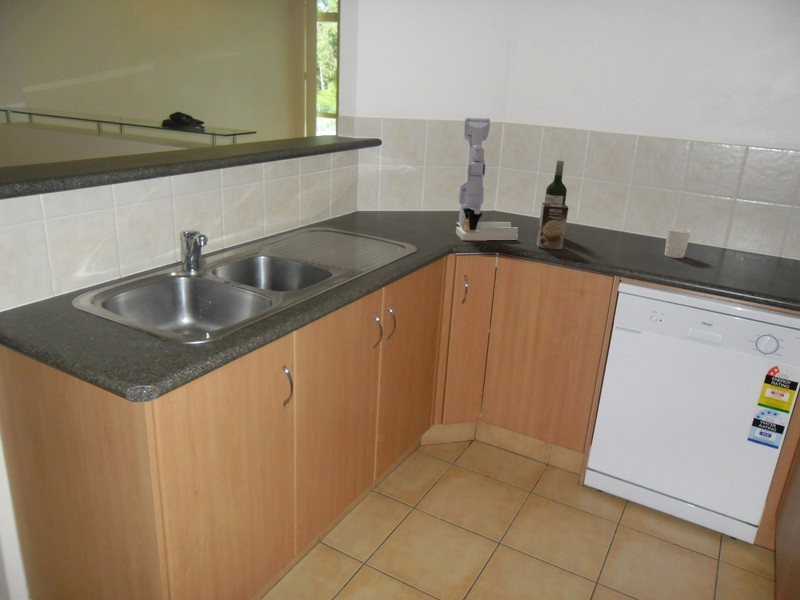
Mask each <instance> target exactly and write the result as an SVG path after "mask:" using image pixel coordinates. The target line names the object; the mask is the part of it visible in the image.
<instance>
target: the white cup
mask: <svg viewBox="0 0 800 600" xmlns="http://www.w3.org/2000/svg"><path fill="white" fill-rule="evenodd" d="M691 232H692V231H691V230H690V229H688V228H683V227H675V226H673V227H672V226H671V227H668V228H667V233H666V239H665V250H664V255H665V256H666V257H668V258H672V259H673V258H674V259H683V258H684V257H685V253H686V250H687V247H688V243H689V240H690V236H691V234H692V233H691Z"/></svg>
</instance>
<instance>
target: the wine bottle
mask: <svg viewBox="0 0 800 600" xmlns="http://www.w3.org/2000/svg"><path fill="white" fill-rule="evenodd" d="M564 164H565V162H564V160H559V159H558V160H557V161H556V167H555V172H554V179H553V181H552V182H551V183H550V184H549V185H547V187H546V189H545V198H544V203H552V204H563V205H566V199H567V192H568V191H567V187H566V186H565V184H564V183H563V173H564V166H565V165H564Z"/></svg>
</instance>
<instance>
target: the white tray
mask: <svg viewBox="0 0 800 600" xmlns="http://www.w3.org/2000/svg"><path fill="white" fill-rule="evenodd" d="M455 229H456V230H455V234H456V235H457V237H459V238H460V240H461V241H487V240H517V241H518V237H519V233H518V232H519V227H518V226H517V227H515V226H513V227H512V222H511V221H478V224H477V228H476V232H465V231H464V230H463V229H462V227H460V226H456V227H455Z"/></svg>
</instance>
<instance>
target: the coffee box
mask: <svg viewBox="0 0 800 600" xmlns="http://www.w3.org/2000/svg"><path fill="white" fill-rule="evenodd" d="M541 204H542V205H541V208H540V209H541V210H540V216H539V225H538V231H537V237H536V242H535V243H536V246H537V248H539V247H541V249H549V248H550V249H549V250H551V249H553V250H561V249H563V247H564V246H563V245H564V239H565V231H566V228H567V227H566V226H567V219H568V215H569V214H568V213H569V206H568V205H566V204H565V205H563V204H552V203H545V202H542V203H541Z"/></svg>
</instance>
